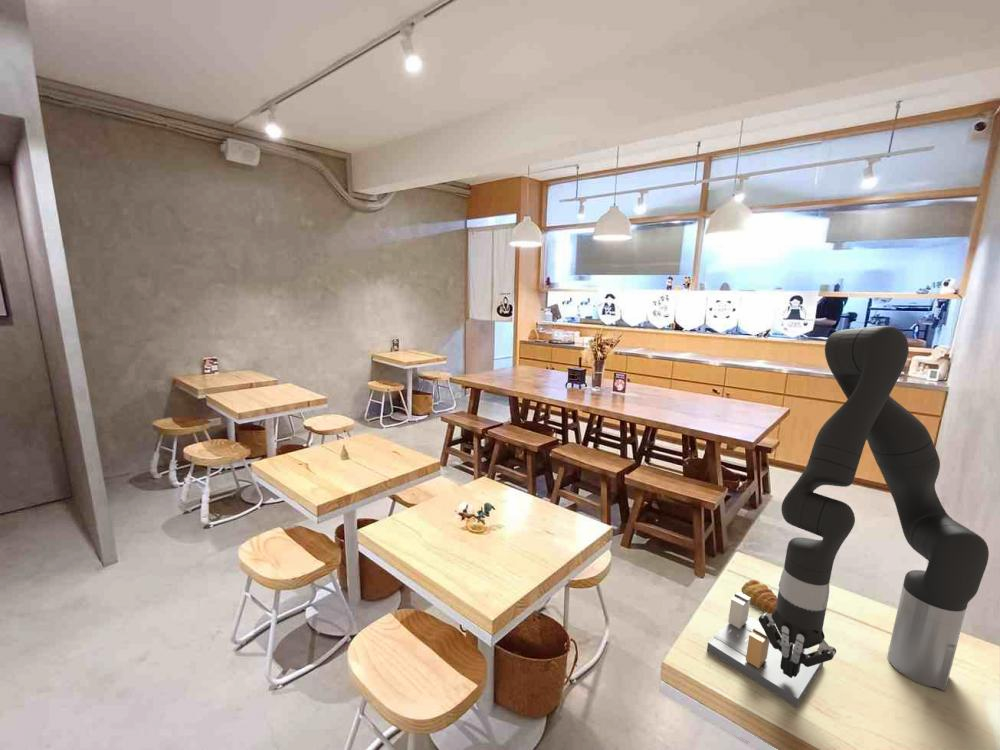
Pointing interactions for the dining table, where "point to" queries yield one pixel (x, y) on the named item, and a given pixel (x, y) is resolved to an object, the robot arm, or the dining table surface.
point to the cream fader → (739, 609)
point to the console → (733, 651)
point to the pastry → (760, 596)
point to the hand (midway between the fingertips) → (788, 673)
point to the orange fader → (757, 647)
